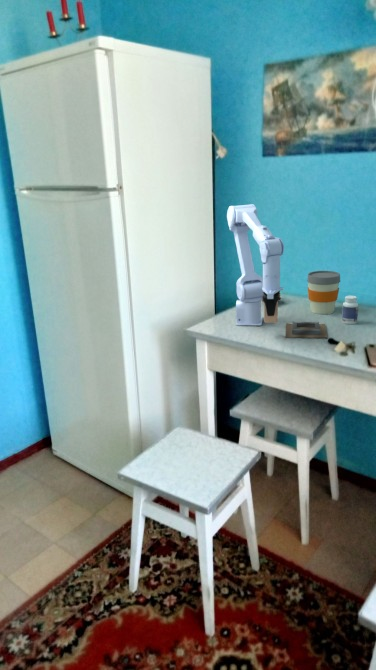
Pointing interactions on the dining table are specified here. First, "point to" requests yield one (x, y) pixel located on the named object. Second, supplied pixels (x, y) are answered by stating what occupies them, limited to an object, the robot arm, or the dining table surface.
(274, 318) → the beige upright block
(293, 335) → the socket board
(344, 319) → the pill bottle
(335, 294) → the reusable coffee cup
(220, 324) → the dining table surface
